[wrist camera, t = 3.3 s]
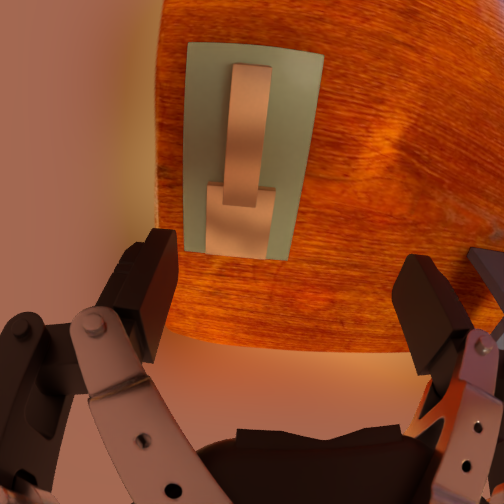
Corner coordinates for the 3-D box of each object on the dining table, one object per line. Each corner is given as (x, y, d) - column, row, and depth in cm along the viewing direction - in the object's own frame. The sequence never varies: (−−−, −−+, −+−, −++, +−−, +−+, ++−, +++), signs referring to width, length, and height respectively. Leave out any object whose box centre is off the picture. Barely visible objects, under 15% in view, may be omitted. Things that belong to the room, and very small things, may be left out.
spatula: (215, 61, 19) (206, 62, 16) (292, 68, 20) (298, 71, 16) (206, 249, 29) (200, 276, 26) (265, 254, 30) (265, 282, 26)
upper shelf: (421, 331, 41) (445, 396, 32) (471, 246, 32) (517, 315, 22) (465, 329, 42) (490, 387, 32) (513, 254, 32) (555, 312, 22)
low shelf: (190, 233, 32) (184, 250, 30) (195, 43, 21) (187, 42, 18) (285, 243, 32) (287, 260, 30) (317, 54, 21) (324, 55, 19)
